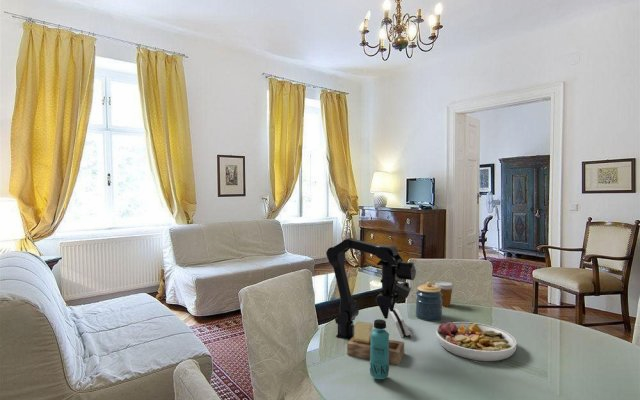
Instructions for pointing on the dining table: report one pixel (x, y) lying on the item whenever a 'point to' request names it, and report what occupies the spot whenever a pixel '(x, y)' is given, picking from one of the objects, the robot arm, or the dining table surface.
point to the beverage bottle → (379, 350)
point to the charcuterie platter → (476, 341)
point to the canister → (429, 302)
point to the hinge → (399, 323)
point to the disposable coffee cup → (445, 292)
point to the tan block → (363, 332)
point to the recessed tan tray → (364, 350)
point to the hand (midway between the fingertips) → (388, 314)
